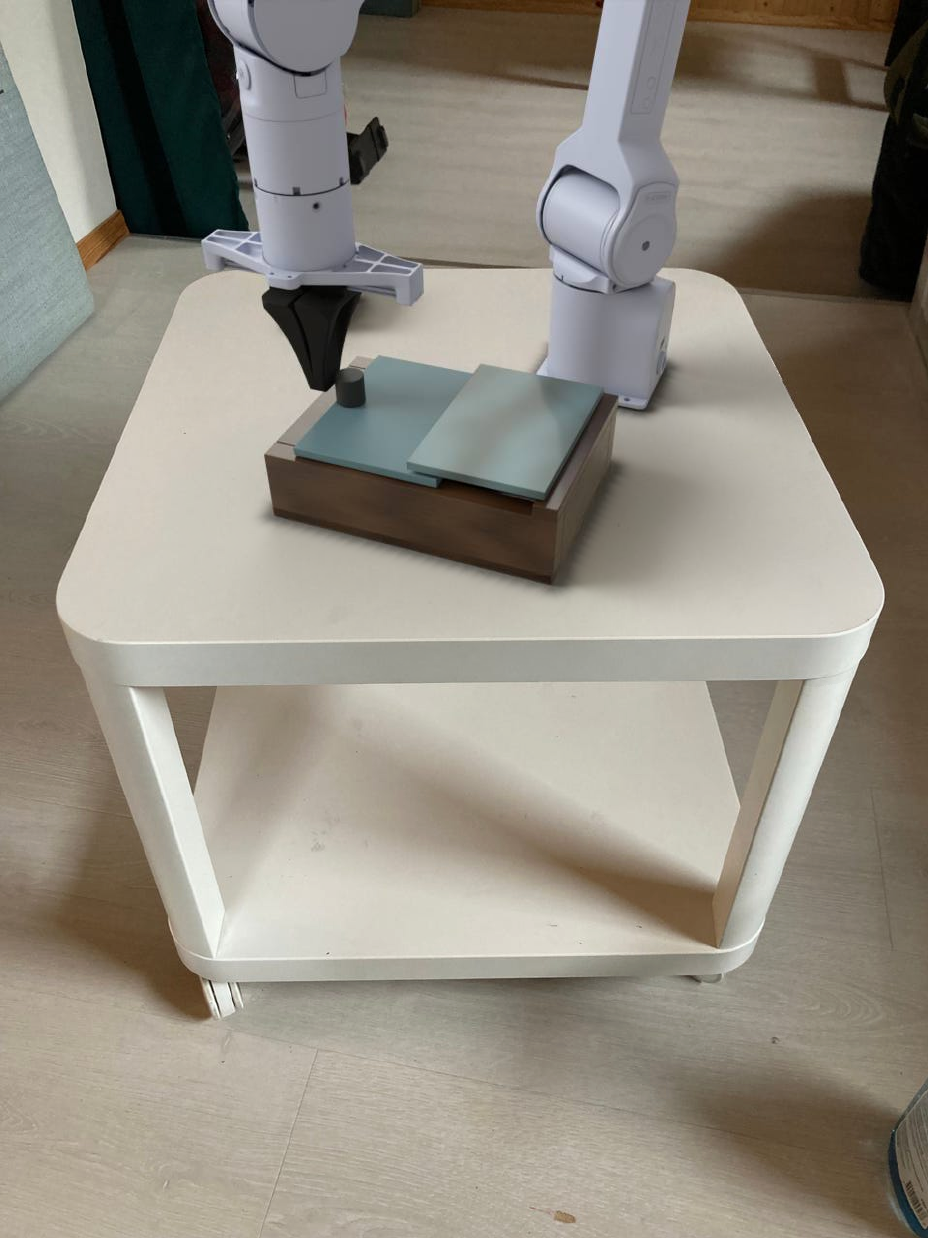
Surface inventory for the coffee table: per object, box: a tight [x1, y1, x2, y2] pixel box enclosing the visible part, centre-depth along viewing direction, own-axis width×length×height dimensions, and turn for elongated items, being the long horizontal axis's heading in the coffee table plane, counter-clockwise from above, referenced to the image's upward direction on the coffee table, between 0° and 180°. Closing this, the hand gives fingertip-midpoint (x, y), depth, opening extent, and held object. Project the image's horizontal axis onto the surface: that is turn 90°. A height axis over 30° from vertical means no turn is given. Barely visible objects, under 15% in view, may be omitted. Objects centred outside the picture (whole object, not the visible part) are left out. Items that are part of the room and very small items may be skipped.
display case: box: [263, 355, 619, 586], centre depth 67 cm, size 20×14×7 cm
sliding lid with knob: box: [293, 354, 474, 488], centre depth 66 cm, size 10×13×3 cm
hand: (324, 383), depth 67 cm, fingers closed
